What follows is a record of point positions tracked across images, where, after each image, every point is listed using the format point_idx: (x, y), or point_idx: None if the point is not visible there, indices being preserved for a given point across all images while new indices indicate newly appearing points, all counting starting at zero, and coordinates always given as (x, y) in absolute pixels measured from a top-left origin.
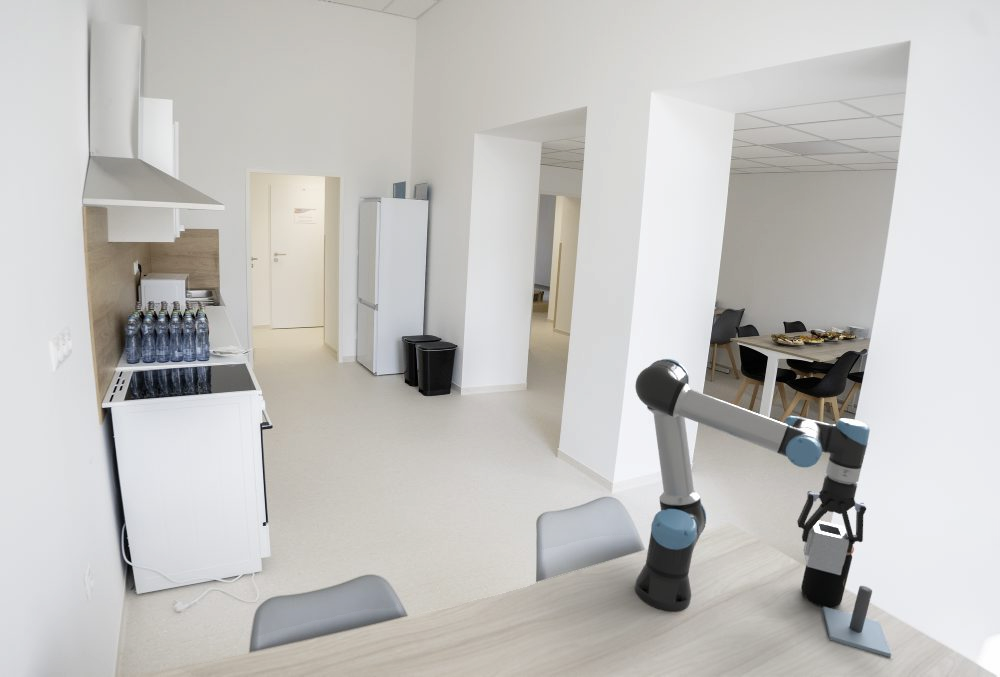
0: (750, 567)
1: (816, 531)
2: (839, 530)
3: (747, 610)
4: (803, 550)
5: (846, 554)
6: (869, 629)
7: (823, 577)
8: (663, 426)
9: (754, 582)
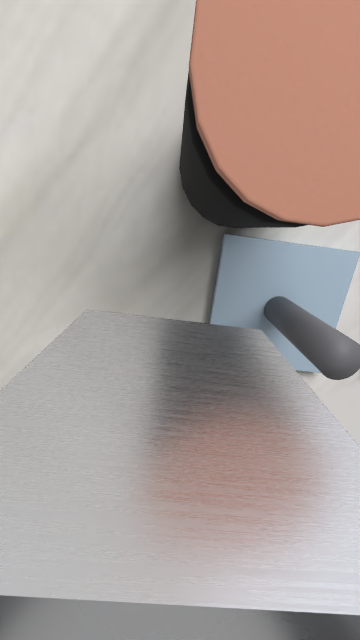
0: (28, 44)
1: None
2: None
3: (27, 317)
4: None
5: None
6: (313, 299)
7: (228, 220)
8: None
9: (43, 158)
